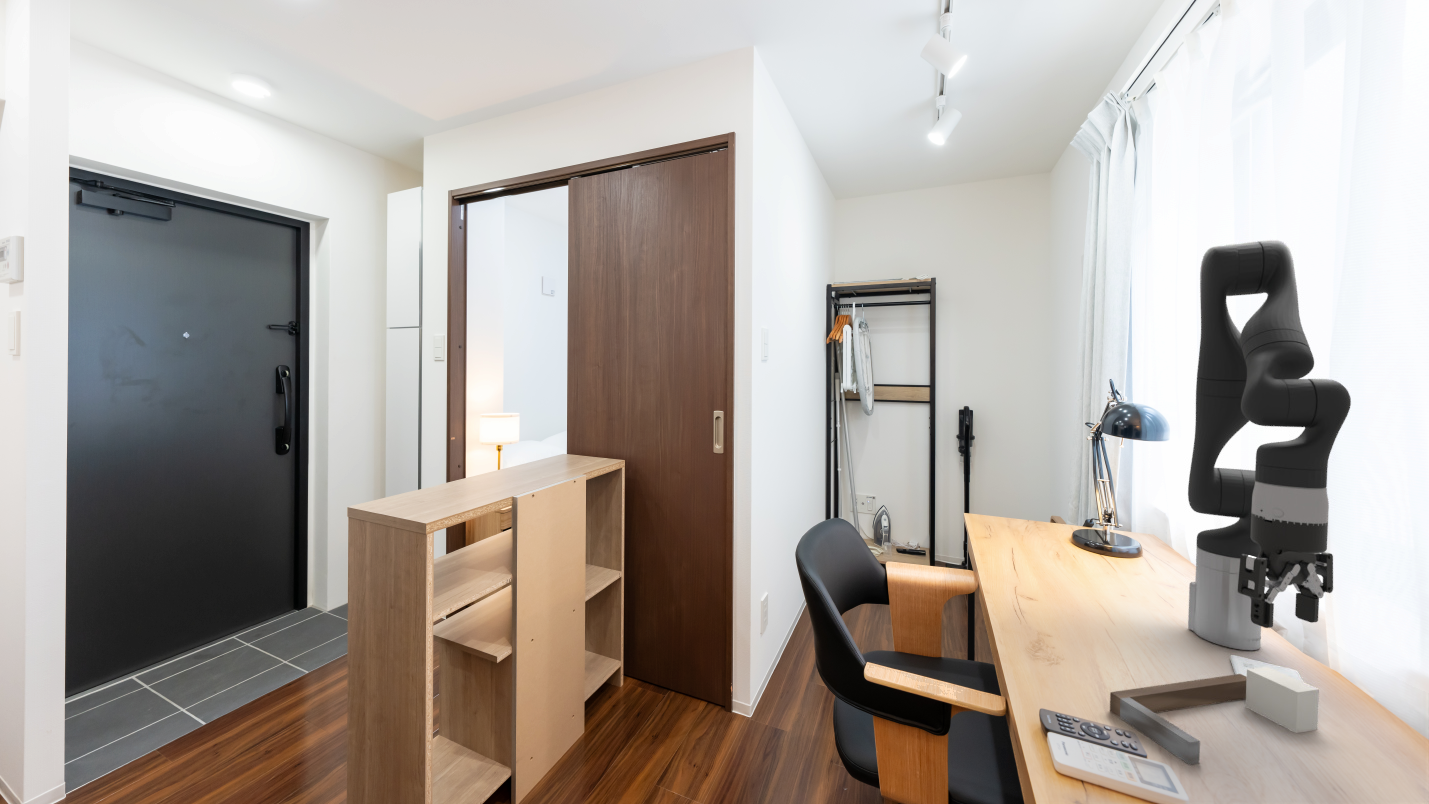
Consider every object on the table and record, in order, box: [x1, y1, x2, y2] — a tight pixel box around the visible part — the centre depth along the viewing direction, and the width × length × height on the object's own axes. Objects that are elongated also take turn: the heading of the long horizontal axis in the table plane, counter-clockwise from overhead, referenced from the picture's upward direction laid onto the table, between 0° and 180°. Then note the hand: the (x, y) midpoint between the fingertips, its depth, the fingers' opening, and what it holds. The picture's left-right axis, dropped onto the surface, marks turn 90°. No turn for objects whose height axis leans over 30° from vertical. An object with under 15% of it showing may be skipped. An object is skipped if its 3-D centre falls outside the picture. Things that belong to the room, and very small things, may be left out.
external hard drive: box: [1230, 654, 1304, 682], centre depth 85 cm, size 2×8×12 cm
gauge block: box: [1245, 667, 1320, 734], centre depth 77 cm, size 6×4×6 cm, turn 11°
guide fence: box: [1109, 674, 1247, 765], centre depth 75 cm, size 11×25×3 cm, turn 101°
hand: (1284, 622), depth 76 cm, fingers open, 8 cm apart
